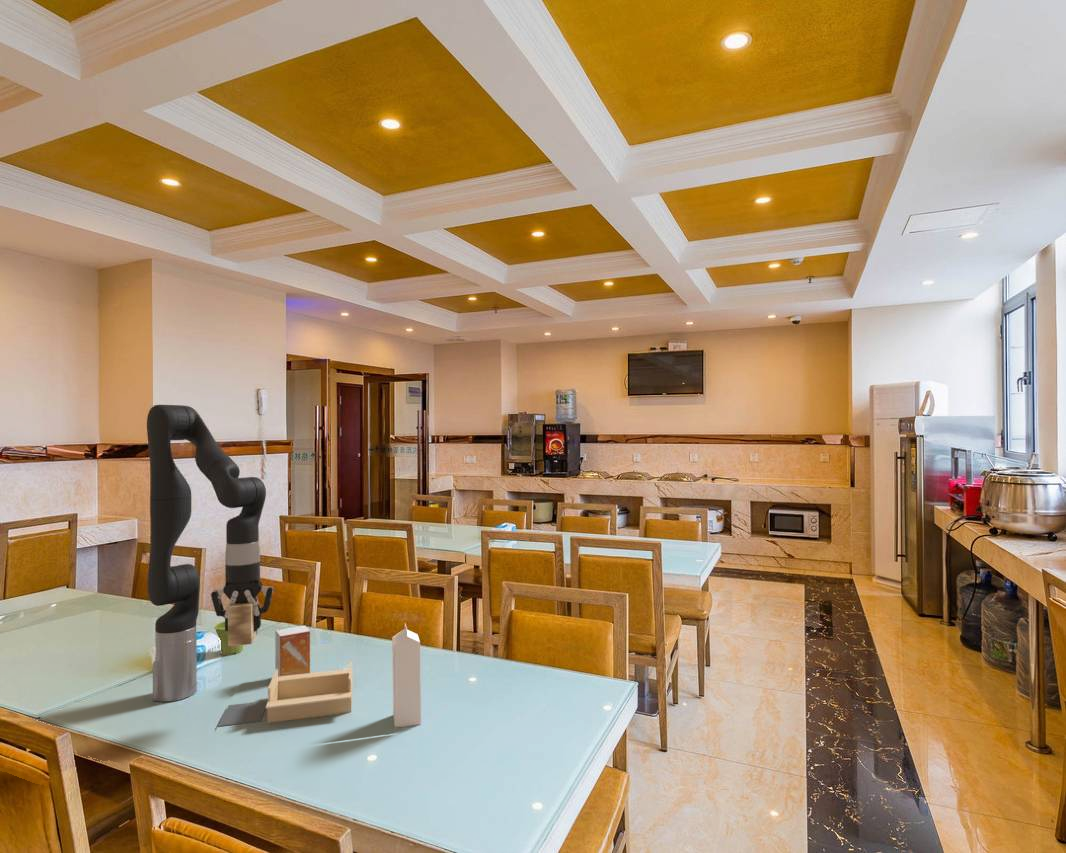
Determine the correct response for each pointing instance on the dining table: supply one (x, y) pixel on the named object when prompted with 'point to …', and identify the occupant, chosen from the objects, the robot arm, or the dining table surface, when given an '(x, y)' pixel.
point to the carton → (310, 694)
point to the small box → (292, 651)
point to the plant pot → (226, 640)
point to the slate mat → (243, 713)
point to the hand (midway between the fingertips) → (243, 631)
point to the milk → (406, 679)
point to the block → (241, 624)
